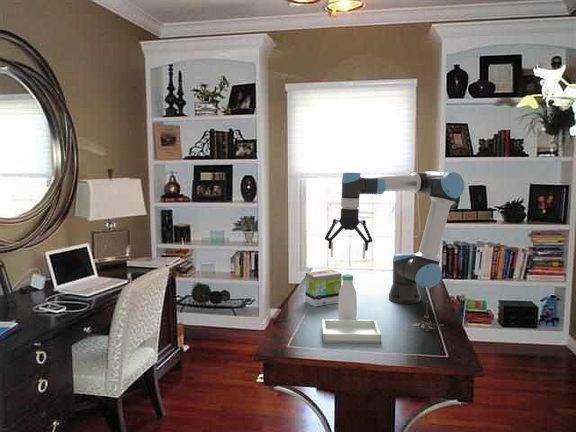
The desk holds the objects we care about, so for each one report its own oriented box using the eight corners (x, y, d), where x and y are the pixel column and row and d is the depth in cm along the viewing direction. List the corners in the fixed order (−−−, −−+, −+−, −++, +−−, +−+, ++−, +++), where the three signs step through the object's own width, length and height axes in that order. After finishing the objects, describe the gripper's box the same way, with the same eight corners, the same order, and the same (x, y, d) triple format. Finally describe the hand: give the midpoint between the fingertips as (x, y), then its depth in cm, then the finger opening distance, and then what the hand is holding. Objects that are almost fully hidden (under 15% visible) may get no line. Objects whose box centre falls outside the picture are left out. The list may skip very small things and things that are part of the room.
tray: (375, 328, 197) (375, 319, 196) (381, 343, 181) (381, 334, 181) (322, 327, 198) (322, 319, 198) (323, 342, 182) (323, 334, 182)
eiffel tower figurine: (443, 325, 201) (444, 294, 199) (447, 334, 191) (448, 302, 189) (407, 323, 203) (407, 293, 201) (408, 332, 193) (409, 300, 192)
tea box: (315, 307, 224) (315, 277, 222) (304, 301, 233) (304, 272, 231) (341, 302, 231) (342, 272, 229) (330, 297, 240) (330, 268, 238)
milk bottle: (355, 323, 202) (356, 278, 199) (337, 322, 203) (337, 277, 201) (356, 317, 209) (357, 273, 207) (339, 316, 211) (339, 272, 208)
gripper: (320, 207, 200) (318, 257, 202) (380, 210, 197) (377, 260, 199) (321, 206, 207) (319, 253, 210) (379, 208, 204) (376, 257, 207)
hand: (347, 257), depth 204 cm, fingers open, 13 cm apart
